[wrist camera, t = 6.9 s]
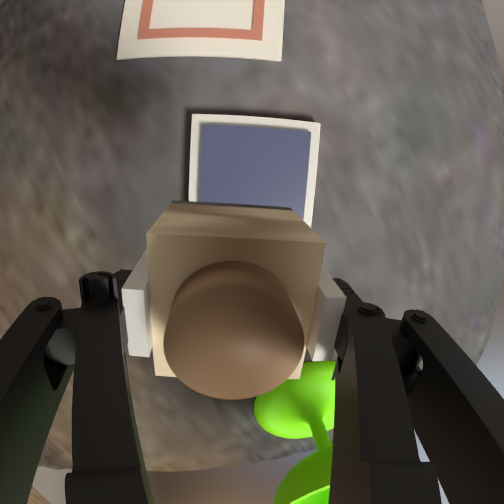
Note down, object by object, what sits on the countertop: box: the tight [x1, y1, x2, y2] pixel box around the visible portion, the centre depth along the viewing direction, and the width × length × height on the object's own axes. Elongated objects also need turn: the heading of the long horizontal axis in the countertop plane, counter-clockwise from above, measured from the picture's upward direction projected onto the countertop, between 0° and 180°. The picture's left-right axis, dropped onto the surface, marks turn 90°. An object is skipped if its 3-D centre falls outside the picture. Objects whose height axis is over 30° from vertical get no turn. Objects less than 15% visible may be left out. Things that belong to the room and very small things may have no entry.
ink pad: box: [189, 114, 320, 228], centre depth 30 cm, size 12×12×2 cm
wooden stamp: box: [147, 201, 325, 400], centre depth 13 cm, size 6×6×8 cm
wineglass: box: [254, 361, 336, 504], centre depth 34 cm, size 16×16×18 cm
